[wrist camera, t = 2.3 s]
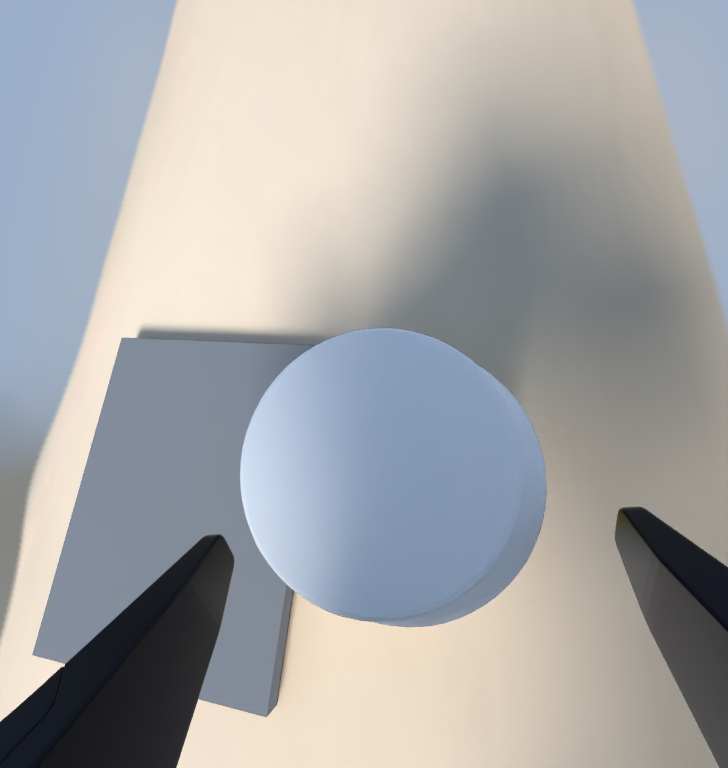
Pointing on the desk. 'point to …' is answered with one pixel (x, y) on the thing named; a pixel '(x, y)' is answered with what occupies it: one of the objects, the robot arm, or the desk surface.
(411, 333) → the supplement bottle
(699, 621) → the robot arm
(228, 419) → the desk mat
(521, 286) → the desk surface
